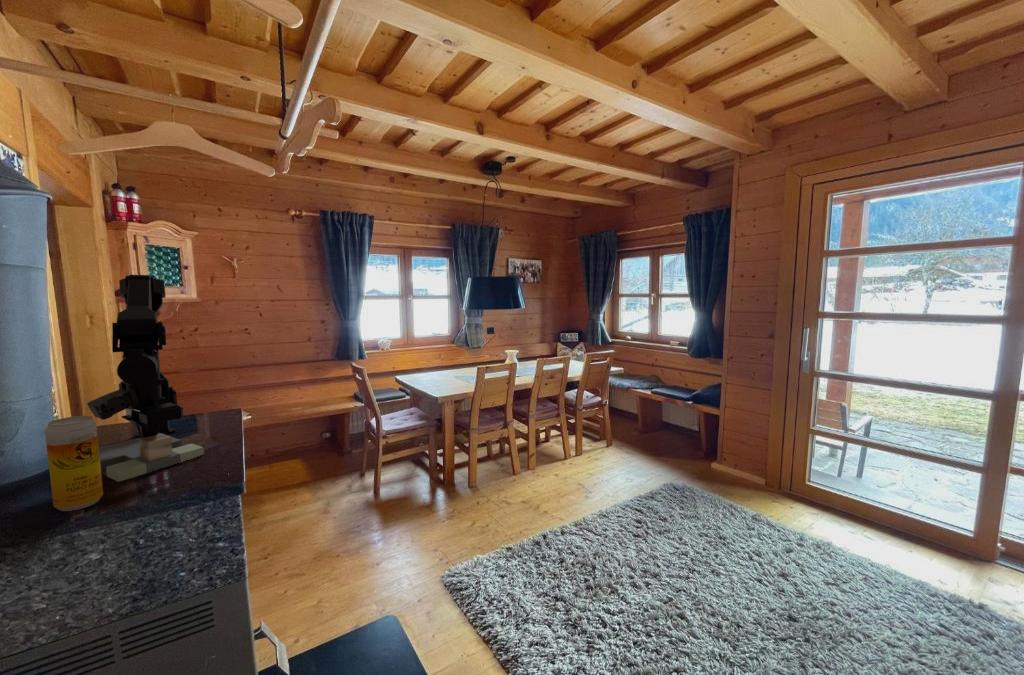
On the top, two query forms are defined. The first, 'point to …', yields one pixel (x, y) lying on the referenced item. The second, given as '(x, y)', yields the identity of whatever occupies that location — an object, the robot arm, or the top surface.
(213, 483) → the top surface
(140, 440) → the block
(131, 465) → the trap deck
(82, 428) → the beer can
